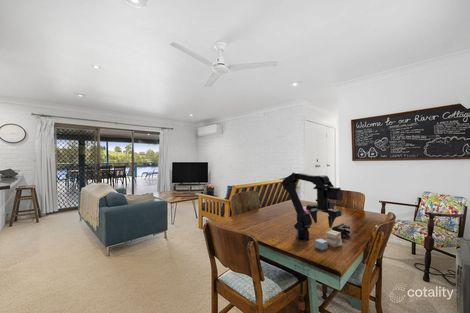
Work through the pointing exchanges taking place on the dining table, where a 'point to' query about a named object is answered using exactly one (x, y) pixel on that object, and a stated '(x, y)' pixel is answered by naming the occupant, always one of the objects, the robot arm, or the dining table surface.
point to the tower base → (334, 242)
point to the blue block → (321, 244)
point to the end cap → (342, 230)
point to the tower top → (333, 235)
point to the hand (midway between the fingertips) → (322, 225)
